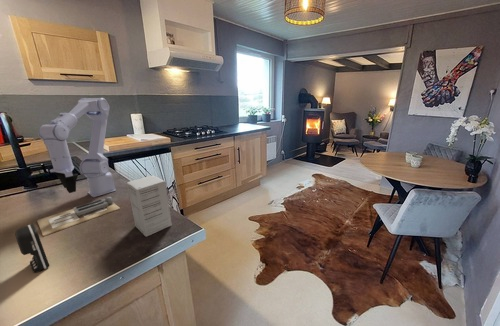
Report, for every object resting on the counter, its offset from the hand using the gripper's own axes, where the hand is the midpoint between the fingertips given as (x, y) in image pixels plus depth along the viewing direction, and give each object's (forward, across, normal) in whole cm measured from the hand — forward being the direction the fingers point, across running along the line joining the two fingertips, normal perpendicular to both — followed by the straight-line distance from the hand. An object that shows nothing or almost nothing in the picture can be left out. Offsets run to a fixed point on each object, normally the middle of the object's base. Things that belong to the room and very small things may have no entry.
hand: (70, 189), depth 84 cm
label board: (+8, +8, 0) cm, 11 cm away
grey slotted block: (+8, +8, +5) cm, 12 cm away
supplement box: (+9, +36, +14) cm, 40 cm away
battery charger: (+9, +30, -14) cm, 35 cm away
